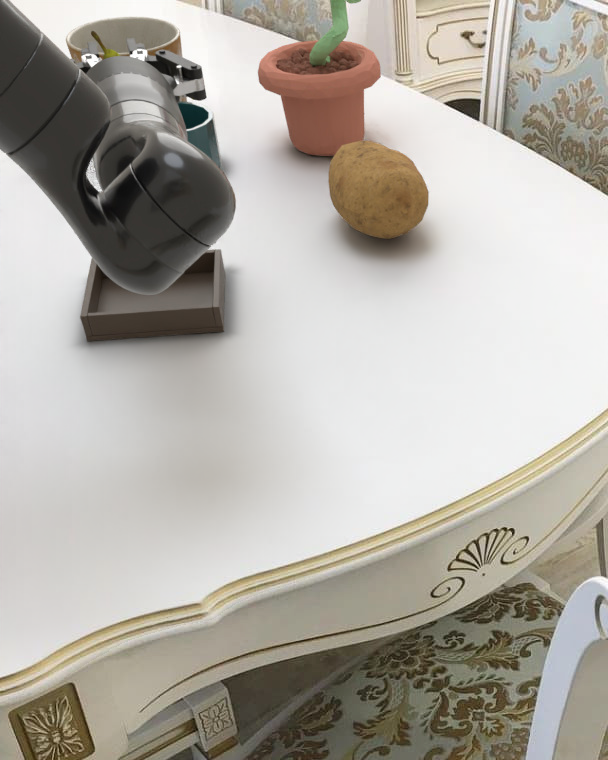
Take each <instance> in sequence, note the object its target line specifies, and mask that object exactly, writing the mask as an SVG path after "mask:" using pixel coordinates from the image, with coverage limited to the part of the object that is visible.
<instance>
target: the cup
mask: <svg viewBox="0 0 608 760" xmlns="http://www.w3.org/2000/svg"><path fill="white" fill-rule="evenodd" d="M178 106H179V109H180V112H181V115H182V117H183V120H184V123H185V126H186V131H187V137H188V142H189V143H191V144H193V145H194V146H195V147H197V148H198V149H199V150H201V151H202V152H203V153H204V154H206V155H207V156H208V157H209V158H210V159H211V160H212V161H213V162H214V163H215V164H216V165H217V166H218V167H219V168H220V169H221V170H222V171H223V166H222V165H223V164H222V157H221V156H222V155H221V151H220V146H219V140H218V139H219V138H218V132H217V128H216V123H215V116H214V112H213V110H211V109H210V108H209V107H208V106H206V105H203V104H200V103H197V102H190V101H187V102H182V101H179V103H178Z"/></svg>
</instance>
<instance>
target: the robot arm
mask: <svg viewBox="0 0 608 760" xmlns="http://www.w3.org/2000/svg"><path fill="white" fill-rule="evenodd" d="M126 42H127V47H128V51H129V56H130V57H129V56H114V57H110V58H106V59H104V60H102V59H101V57H99V54H98V50H97V46H96V42H87V44H88V48H83V49H82V50H81V55H82V56H81V59H82V61H81V62H80V63H76V64H75V60H74V59H72V58H70V57H69V56H68V55H67V54H65V52H64V51H62V50H61V49H60V47H58V46H57V45H56V44H55V42H53V41H52V40H51V39H50V38H49V37H48V36H47V35H46V34H45V33H44V32H43V31H41V30H40V28H39V27H38V26H36V25H35V23H33V22H32V21H31V20H30V18H28V17H27V16H26V15H25V14H24V13H23V12H22V11H21V10H20V9H19V8H18V7H17V6H16V5H15V4H14V3H13V2H12V1H11V0H0V151H1V152H2V153H4V154H5V155H6V156H7V157H8V158H10V160H12V161H13V162H14V163H15V164H16V165H17V166H18V167H19V168H20V169H21V170H22V171H24V173H26V174H27V176H28V177H29V178H30V179H31V180H32V181H33V182H34V183H35V184H36V186H38V188H39V189H40V190H41V191H42V193H43V194H44V195H45V196H46V197H47V199H49V201H50V203H52V205H53V206H54V207H55V208H56V209H57V211H58V212H59V214H61V216H62V218H64V220H65V221H66V222H67V223H68V225H69V227H70V228H71V229H72V231H73V232H74V234H75V235H76V237H77V238H78V239H79V241H80V243H81V244H82V245H83V247H84V248H85V250H86V252H87V253H88V254H89V256H90V257H91V259H92V258H93V260H94V261H95V262H96V264H97V265H98V266H99V267H100V269H101V270H102V271H103V272H104V273H105V274H106V276H107V277H108V278H110V279H111V280H112V281H113V282H114V283H116V284H117V285H119V286H120V287H122V288H124V289H126V290H128V291H130V292H134V293H137V294H142V295H156V294H159V293H161V292H163V291H165V290H166V289H167V288H169V287H170V286H171V285H172V284H173V283H174V282H175V281H176V280H177V279H178V278H179V277H180V276H181V275H182V274H183V273H184V272H185V271H186V270H187V269H188V268H189V267H190V266H191V265H192V264H193V263H194V262H195V261H196V260H198V259H199V258H200V257H201V256H202V255H203V254H204V253H205V252H206V251H207V250H210V249H211V247H212V246H213V245H214V244H215V243H216V242H217V241H219V240H220V239H221V237H223V235H224V234H225V233H226V232H227V231H228V229H229V228H230V227H231V224H232V223H233V221H234V218H235V214H236V209H237V199H236V198H237V197H236V194H235V191H234V188H233V186H232V184H231V182H230V180H229V179H228V176H227V175H226V174H225V173H224V172H223V169H222V170H221V169H220V168H219V167H218V166H217V165H216V164H215V163H214V162H213V161H212V160H211V159H210V158H209V157H208V156H207V155H206V154H204V153H203V152H202V151H201V150H199V149H198V148H197V147H195V146H194V145H193V144H191V143H189V142H188V137H187V131H186V126H185V123H184V120H183V117H182V115H181V112H180V109H179V106H178V103H179V101H180V97H179V96H181V97H183V98H186V97H187V98H189V99H191V100H193V101H199V102H201V101H204V100H206V99H207V91H206V86H205V79H204V74H203V69H202V68H203V67H202V65H200V64H198V63H196V62H193V61H192V60H189V59H187V58H184V57H183V56H182V57H181V56H179V55H176V54H174V53H172V52H170V51H168V50H159V51H156V52H155V55H156V56H150V55H148V53H147V51H146V49H145V46H144V45H143V44H142V43H138V44H136V43H135V40H134V38H130V39H126ZM91 162H93V163H92V164H93V169H94V172H95V176H96V179H97V183H98V185H99V187H100V190H101V192H100V191H98V189H97V188H96V187H95V186H94V185H93V184H92V183H91V181H90V179H89V178H88V176H87V172H88V168H89V166H90V164H91Z"/></svg>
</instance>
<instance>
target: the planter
mask: <svg viewBox="0 0 608 760" xmlns="http://www.w3.org/2000/svg"><path fill="white" fill-rule="evenodd" d="M91 31H95V32H96V33H97V35H98V36H99V38H100V40H101V42H102V43H103V45H104V46H105V48H106V49H112V50H114V51H116V52H117V53H118V54H119V55H120V56H129V51H128V47H127V42H126V39H130V38H134V40H135V43H136V44H138V43H142V44H143V45H144V46H145V49H146V51H147V53H148V55H150V56H156V55H155V52H156V51H159V50H168V51H170V52H172V53H174V54H176V55H179V56H181V57H183V49H182V40H181V39H182V37H181V31H180V29H179V27H178V26H177V25H176V24H174V23H172V22H171V21H168V20H163V19H161V18H155V17H147V16H119V17H109V18H104V19H102V18H101V19H98V20H94V21H90V22H87V23H84V24H81V25H79V26H77V27H75V28H73V29H72V30H70V31H69V32H68V34H67V35H66V37H65V43H66V46H67V49H68V51H69V55H70V59H74V60H75V64H76V63H80V62H81V61H82V59H81V56H82V55H81V50H82V49H83V48H88V44H87V42H96V46H97V50H98V54H99V57H101V59H102V60H104V51H103V50H102V48H101V46H100V45H99V43H98V42H97V41H96V40H95V39H94V37H93V36H92V35H91ZM129 57H130V56H129ZM179 97H180V101H182V102H188V99H187V98H188V97H186V98H183V97H181V96H179Z"/></svg>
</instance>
